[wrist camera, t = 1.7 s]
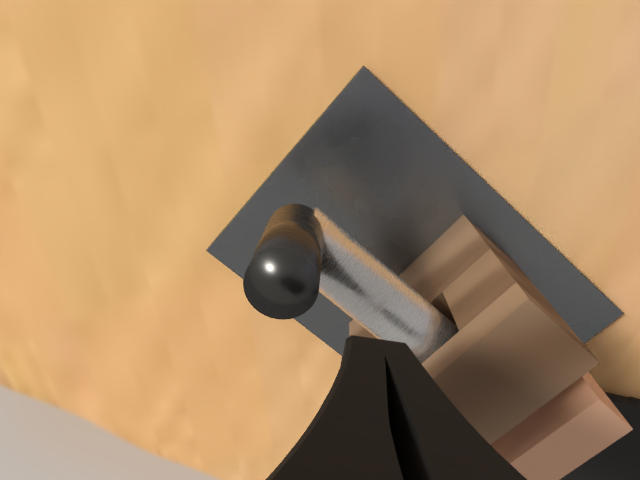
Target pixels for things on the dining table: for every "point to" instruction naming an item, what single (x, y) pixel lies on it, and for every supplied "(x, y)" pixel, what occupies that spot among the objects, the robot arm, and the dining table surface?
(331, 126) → the base plate
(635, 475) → the phone
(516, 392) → the bearing block
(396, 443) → the robot arm
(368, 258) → the crank handle
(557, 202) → the dining table surface
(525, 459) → the collar
